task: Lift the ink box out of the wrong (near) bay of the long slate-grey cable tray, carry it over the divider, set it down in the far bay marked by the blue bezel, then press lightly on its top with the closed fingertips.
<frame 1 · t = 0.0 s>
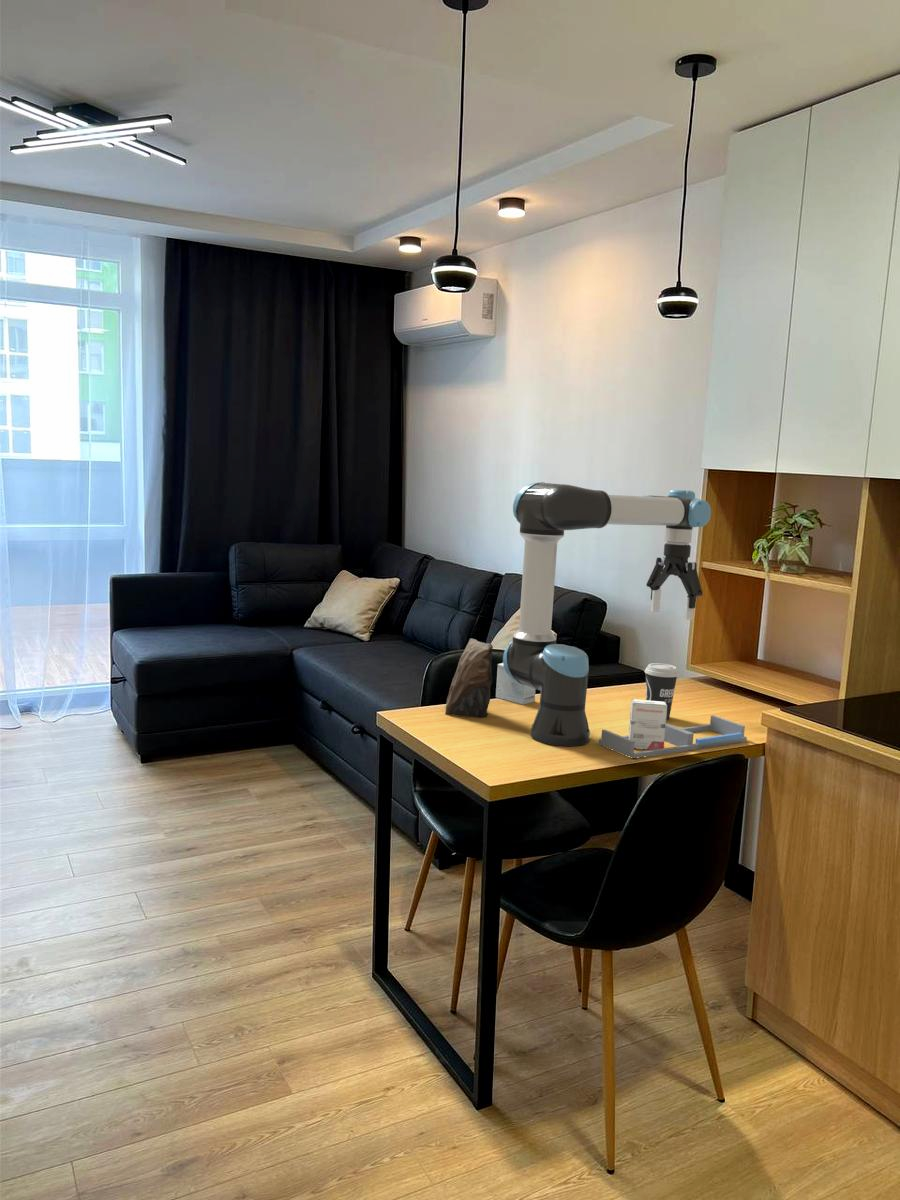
hand: (671, 615, 270), 28 cm above the table, fingers open, 13 cm apart
coffee cup: (657, 718, 263), on the table
ink box: (645, 747, 234), resting in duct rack
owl: (465, 712, 258), on the table
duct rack: (673, 742, 239), on the table
skincare box: (514, 700, 275), on the table
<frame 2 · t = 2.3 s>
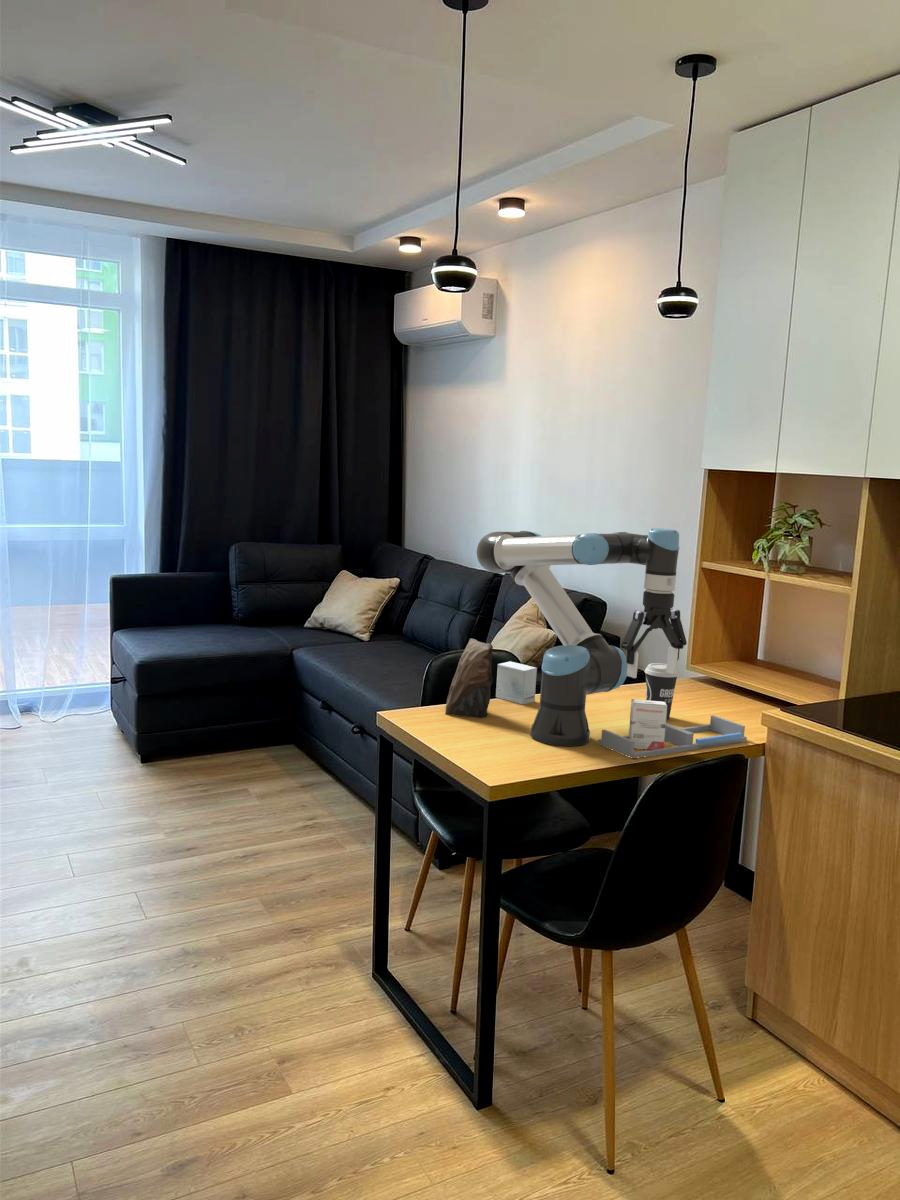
hand: (651, 675, 231), 19 cm above the table, fingers open, 13 cm apart
nothing on the table moved.
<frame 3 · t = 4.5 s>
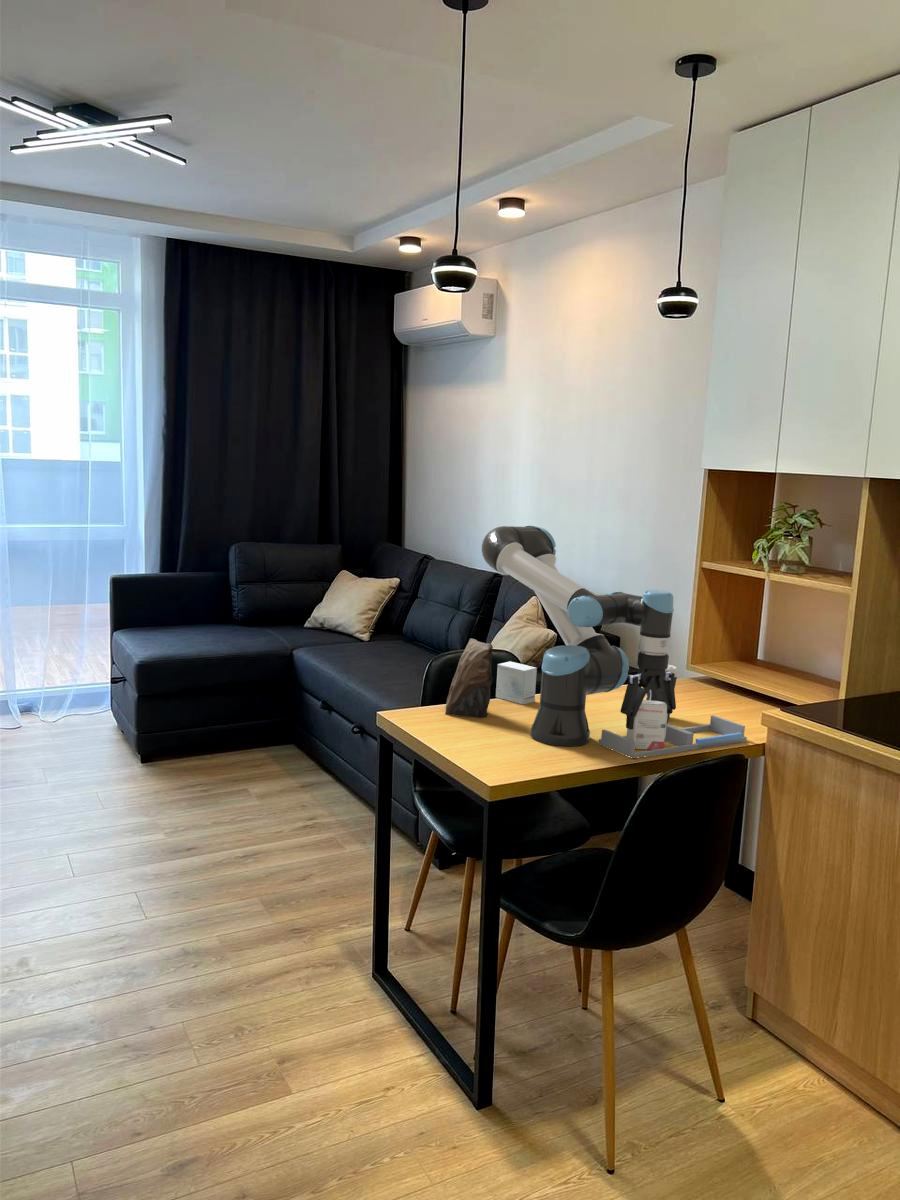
hand: (645, 739, 233), 2 cm above the table, fingers closed on ink box, 9 cm apart
ink box: (645, 747, 234), resting in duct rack, touching gripper
everything else where it was.
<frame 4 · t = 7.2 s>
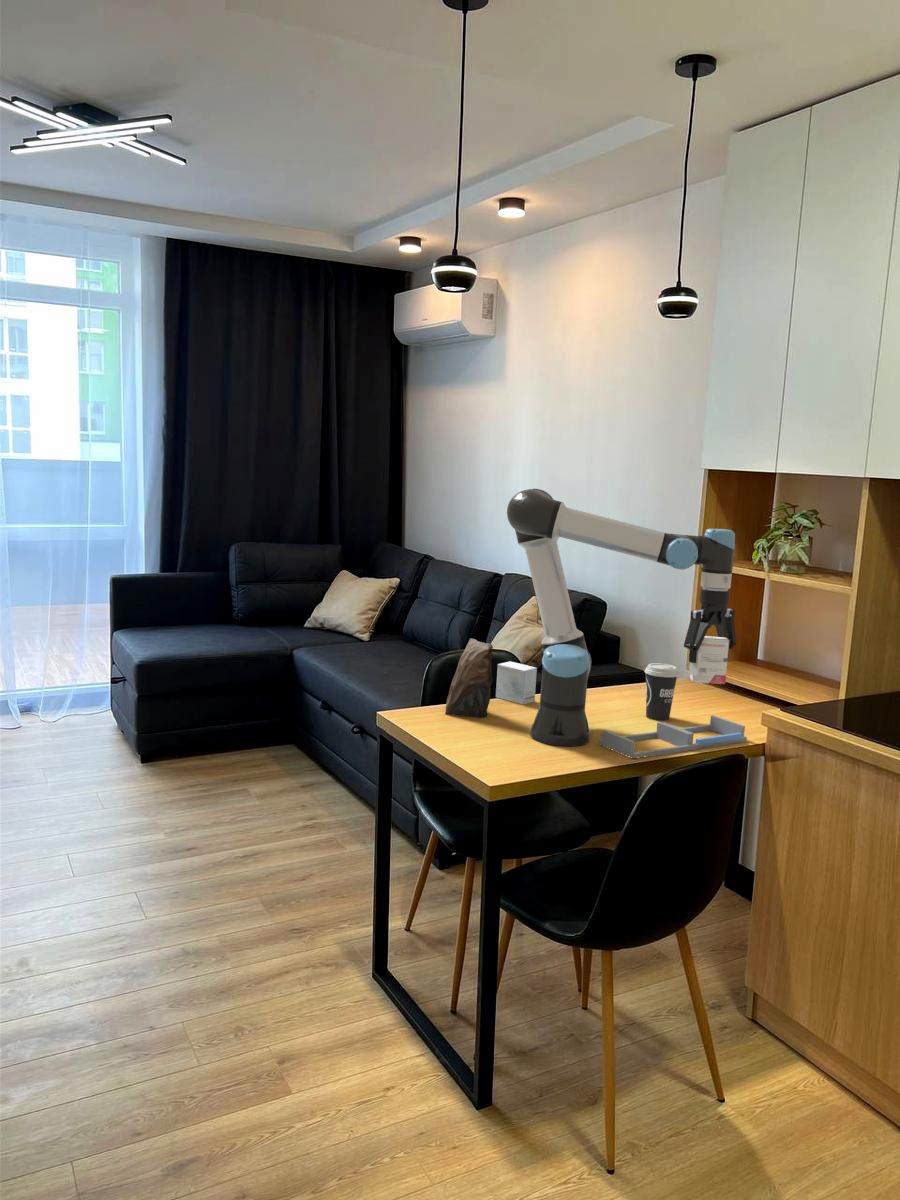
hand: (707, 673, 241), 18 cm above the table, fingers closed on ink box, 9 cm apart
ink box: (707, 682, 241), point 15 cm above the table, touching gripper
everything else where it was.
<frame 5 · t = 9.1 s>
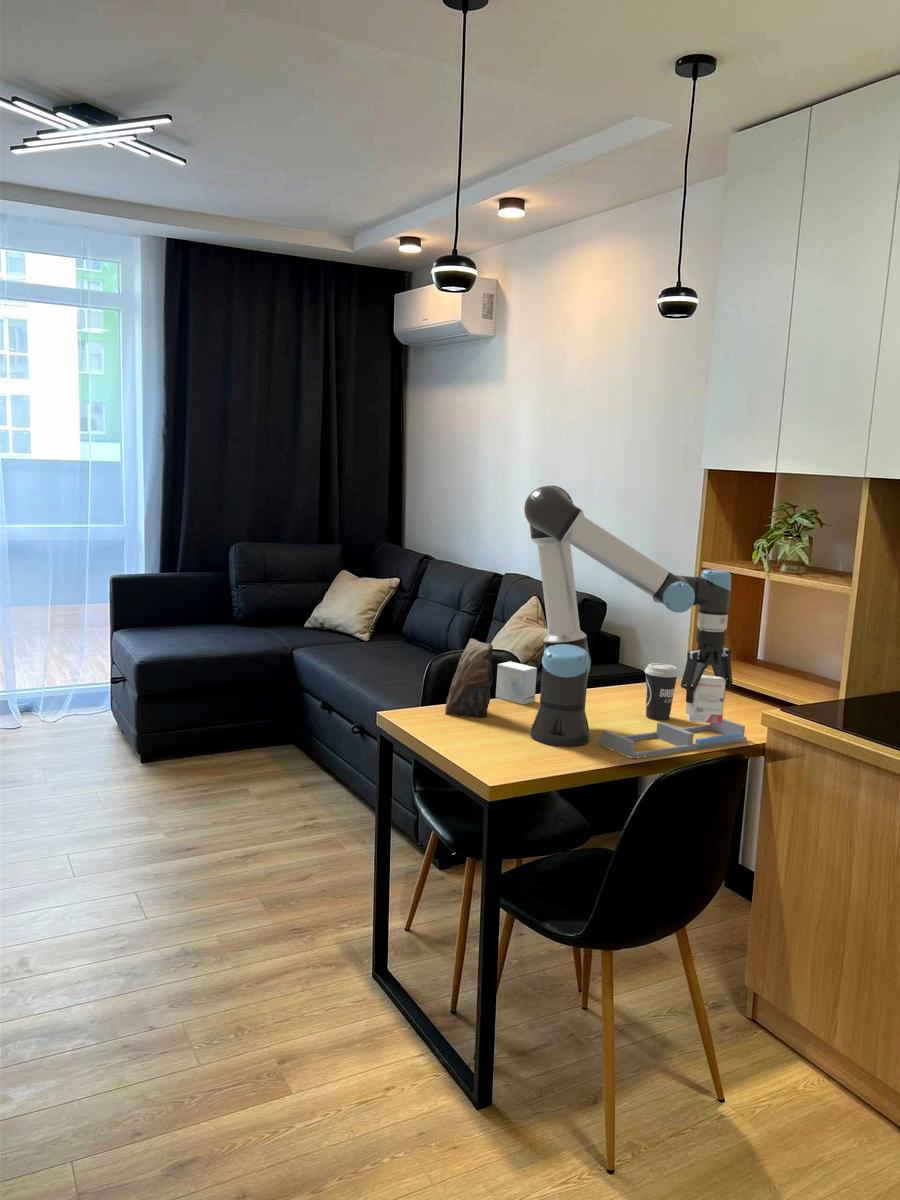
hand: (704, 712, 243), 7 cm above the table, fingers closed on ink box, 9 cm apart
ink box: (703, 721, 243), point 5 cm above the table, touching gripper
everything else where it was.
when the fingers open (4 cm above the table, at t = 10.3 s): ink box drops 2 cm, resting in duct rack.
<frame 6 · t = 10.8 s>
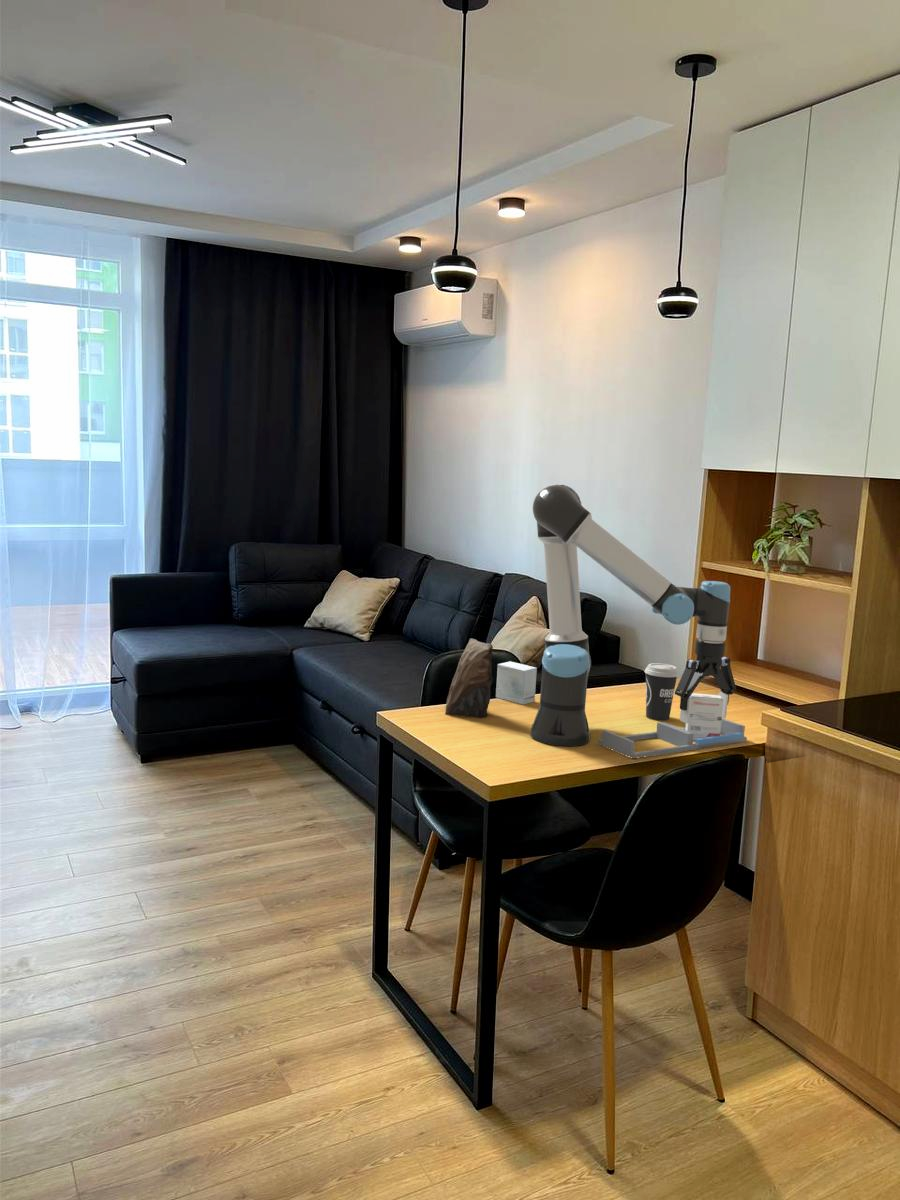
hand: (703, 719, 243), 5 cm above the table, fingers open, 13 cm apart
ink box: (701, 739, 244), resting in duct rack
everything else where it was.
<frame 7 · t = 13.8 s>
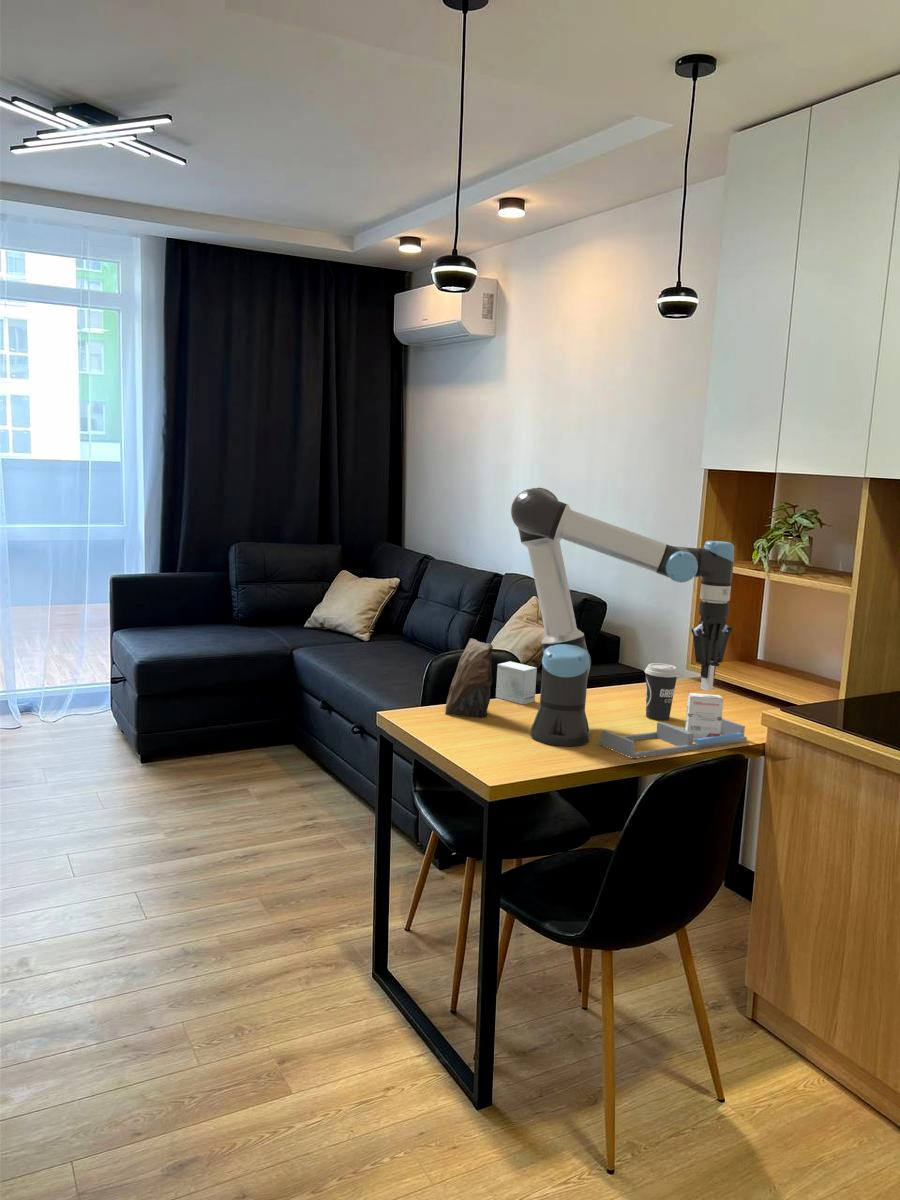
hand: (706, 689, 242), 13 cm above the table, fingers closed
nothing on the table moved.
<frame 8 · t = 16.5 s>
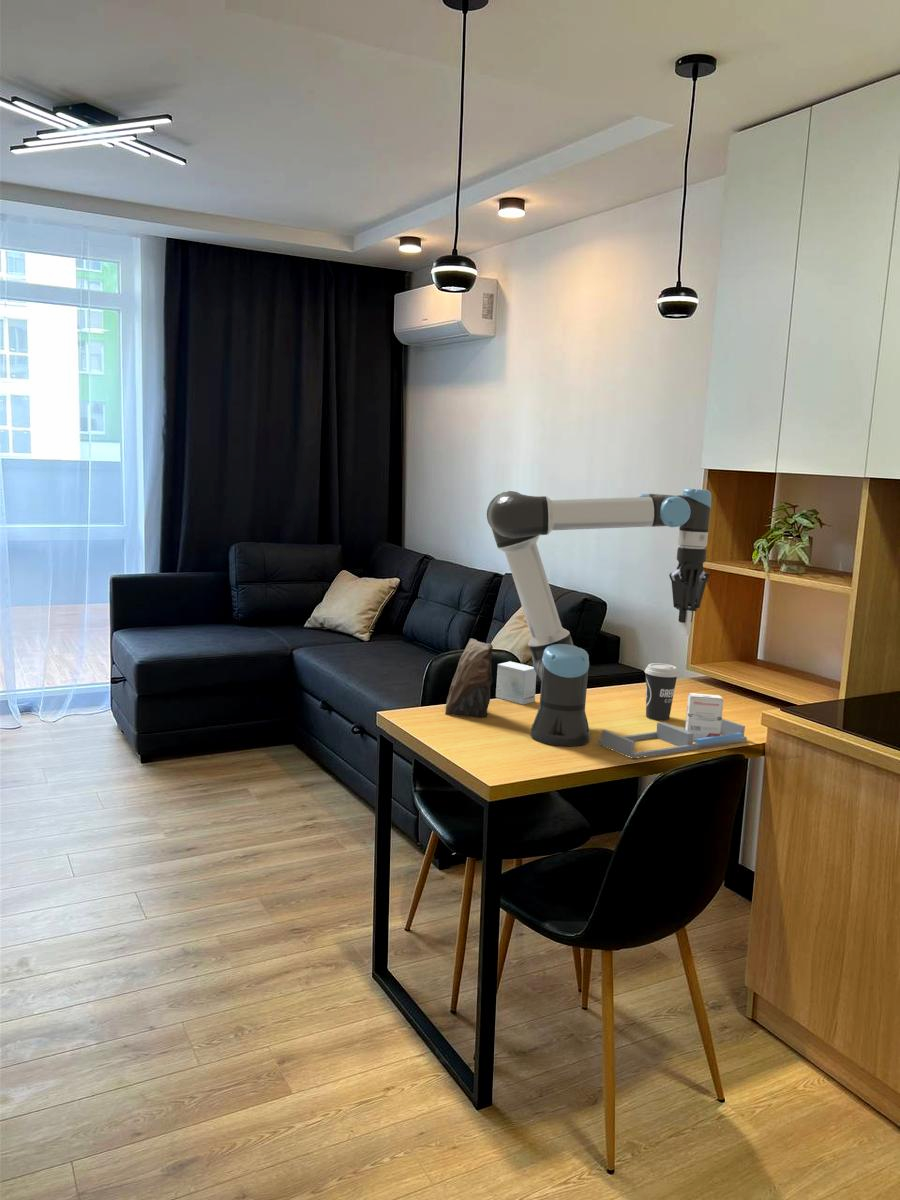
hand: (684, 634, 248), 26 cm above the table, fingers closed
nothing on the table moved.
at the end: ink box inside the target area on the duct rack (0.1 cm from its centre), point 0.0 cm above the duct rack's base; ink box tilted 0°; the gripper is holding nothing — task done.
